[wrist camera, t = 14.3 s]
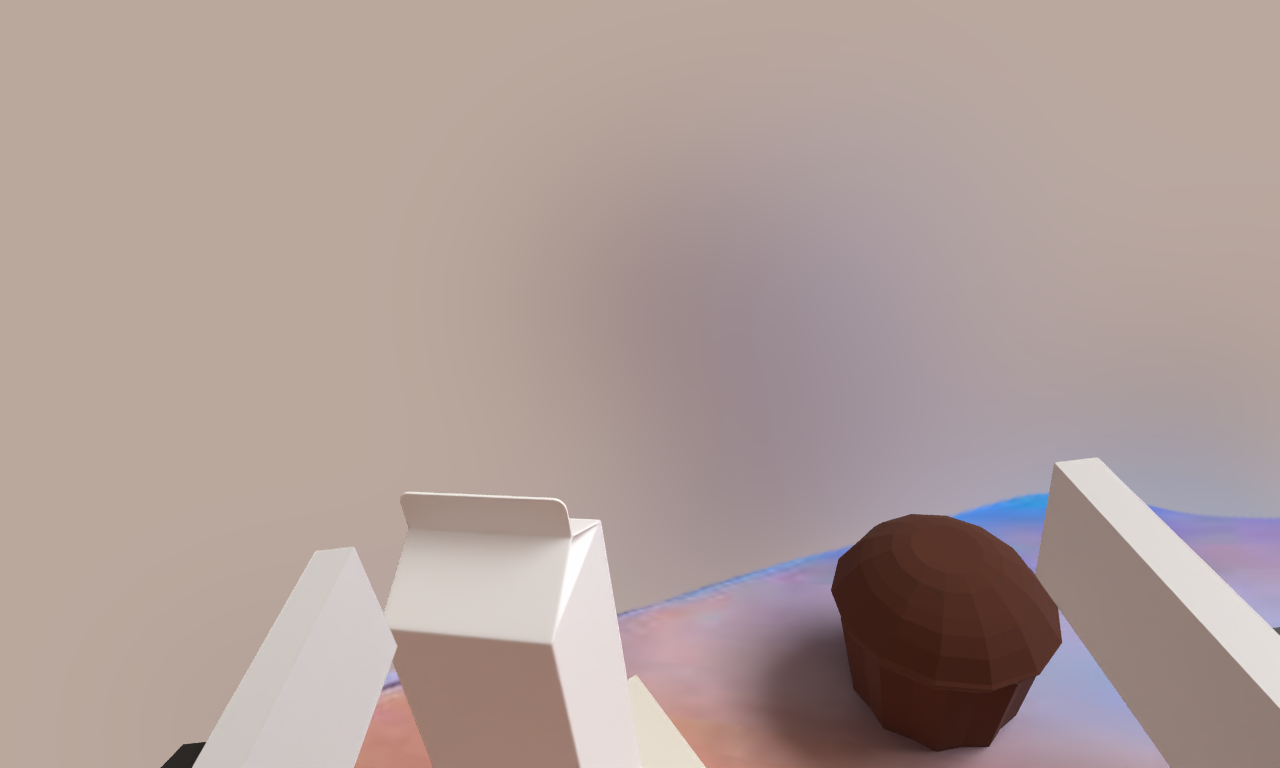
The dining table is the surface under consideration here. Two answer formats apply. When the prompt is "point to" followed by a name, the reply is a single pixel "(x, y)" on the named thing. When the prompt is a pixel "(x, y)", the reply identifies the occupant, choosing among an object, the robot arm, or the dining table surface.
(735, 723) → the dining table surface
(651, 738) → the mat
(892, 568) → the muffin
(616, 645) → the milk
